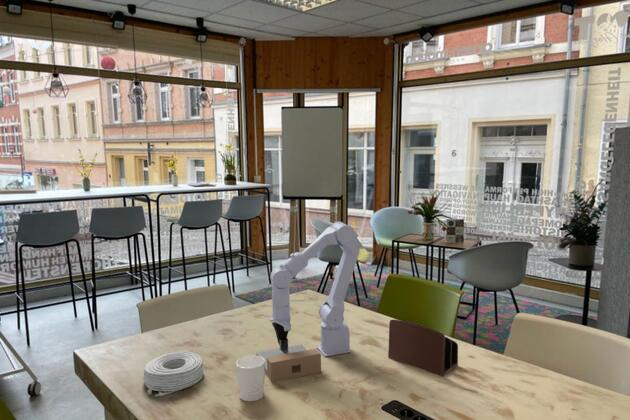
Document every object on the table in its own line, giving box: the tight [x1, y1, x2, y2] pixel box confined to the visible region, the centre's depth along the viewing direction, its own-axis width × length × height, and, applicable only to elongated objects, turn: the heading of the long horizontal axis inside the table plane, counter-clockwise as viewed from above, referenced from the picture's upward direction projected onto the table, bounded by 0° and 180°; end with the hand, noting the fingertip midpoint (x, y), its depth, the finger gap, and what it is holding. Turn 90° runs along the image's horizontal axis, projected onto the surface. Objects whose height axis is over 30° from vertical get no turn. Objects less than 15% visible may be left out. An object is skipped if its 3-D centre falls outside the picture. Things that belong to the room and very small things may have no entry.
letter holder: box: [387, 319, 459, 377], centre depth 145 cm, size 10×20×14 cm, turn 47°
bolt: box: [279, 336, 290, 355], centre depth 145 cm, size 10×2×5 cm, turn 21°
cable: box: [142, 350, 205, 398], centre depth 136 cm, size 18×18×6 cm
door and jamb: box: [255, 344, 322, 383], centre depth 144 cm, size 18×16×6 cm
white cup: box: [235, 354, 266, 402], centre depth 126 cm, size 8×8×10 cm
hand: (281, 343), depth 150 cm, fingers closed
